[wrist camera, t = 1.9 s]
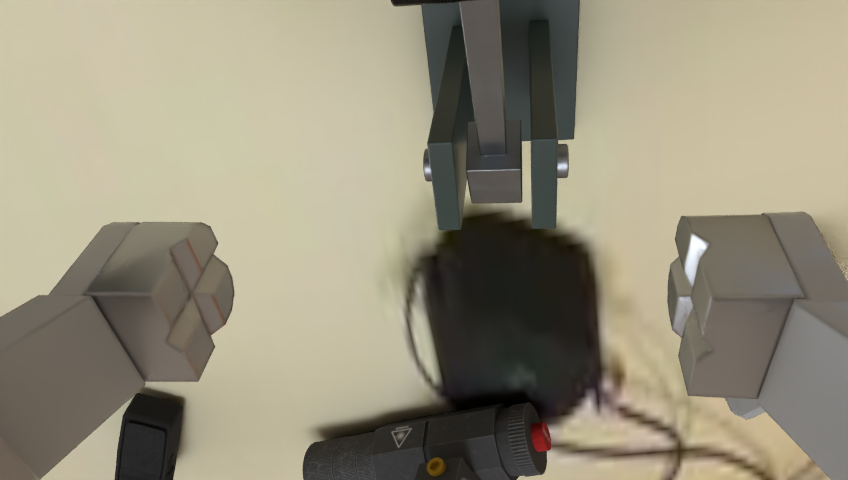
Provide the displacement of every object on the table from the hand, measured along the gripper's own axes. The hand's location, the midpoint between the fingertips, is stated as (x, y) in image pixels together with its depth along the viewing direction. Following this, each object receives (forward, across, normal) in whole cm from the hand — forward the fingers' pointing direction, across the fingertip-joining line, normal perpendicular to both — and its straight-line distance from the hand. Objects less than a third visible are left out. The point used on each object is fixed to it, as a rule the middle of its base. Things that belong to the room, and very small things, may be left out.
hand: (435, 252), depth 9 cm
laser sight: (+27, +8, +45) cm, 53 cm away
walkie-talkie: (+27, +37, +50) cm, 68 cm away
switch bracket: (+27, 0, +9) cm, 29 cm away
